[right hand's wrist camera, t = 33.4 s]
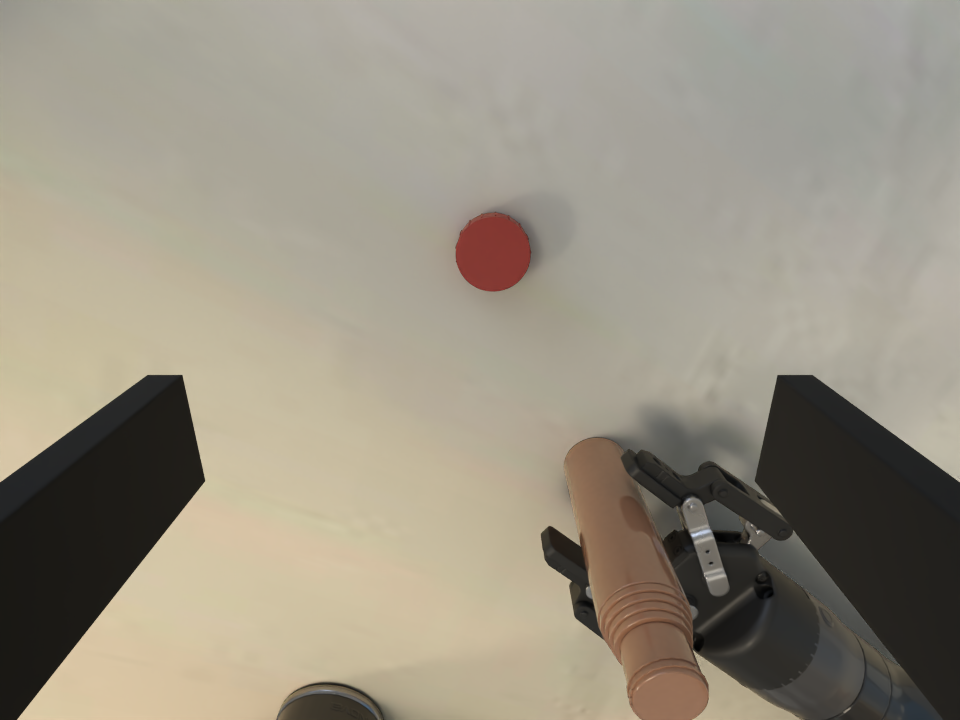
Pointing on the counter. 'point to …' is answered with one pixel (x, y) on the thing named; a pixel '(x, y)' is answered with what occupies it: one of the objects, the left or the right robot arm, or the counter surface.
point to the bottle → (634, 585)
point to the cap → (493, 252)
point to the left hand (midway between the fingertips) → (585, 500)
